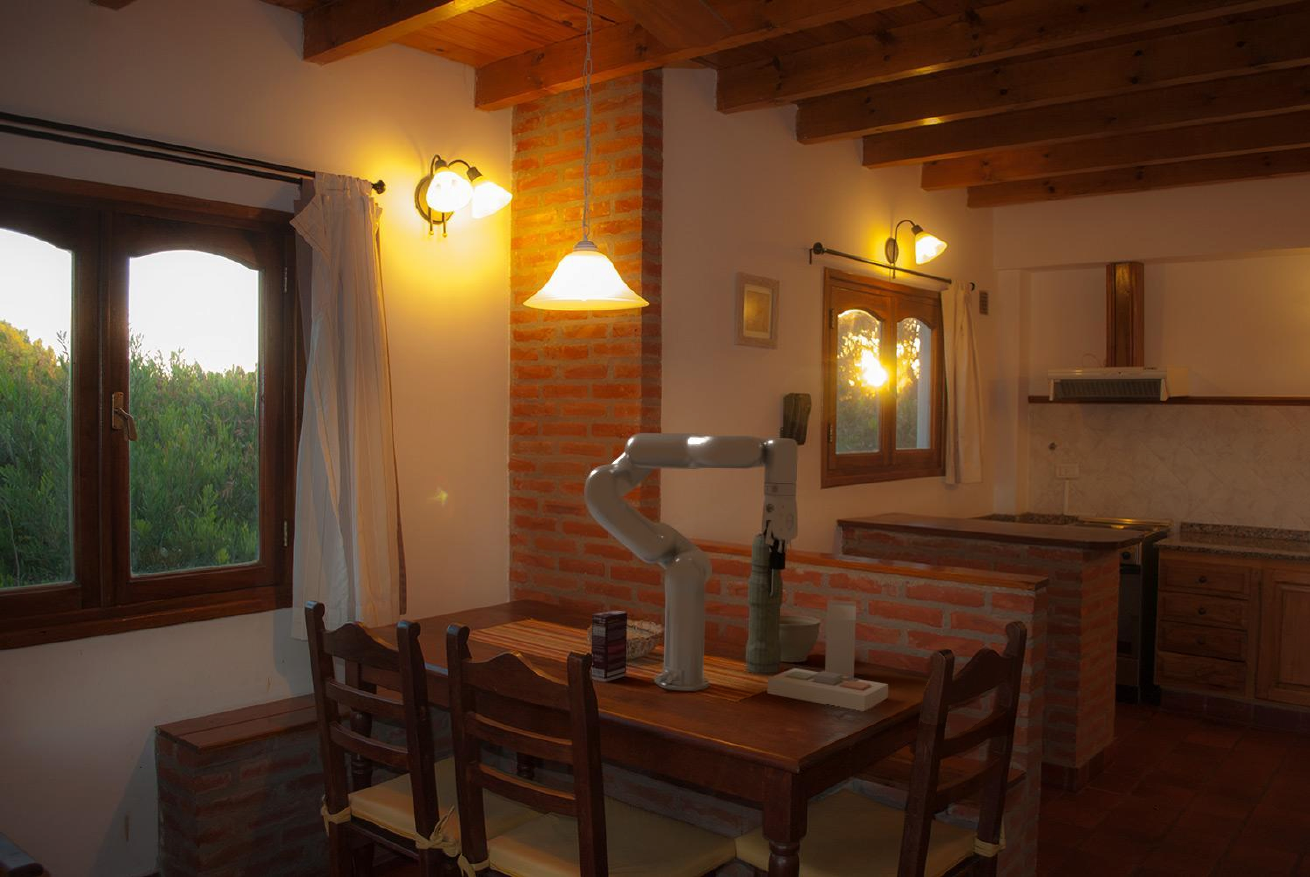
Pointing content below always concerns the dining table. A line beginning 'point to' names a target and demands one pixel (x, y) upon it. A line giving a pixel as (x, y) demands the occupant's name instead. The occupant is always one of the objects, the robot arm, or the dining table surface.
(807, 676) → the sage key
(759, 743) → the dining table surface
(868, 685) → the terracotta key
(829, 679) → the grey key
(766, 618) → the thermos
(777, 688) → the keypad
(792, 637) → the planter bowl
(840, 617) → the milk carton
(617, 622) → the supplement box
